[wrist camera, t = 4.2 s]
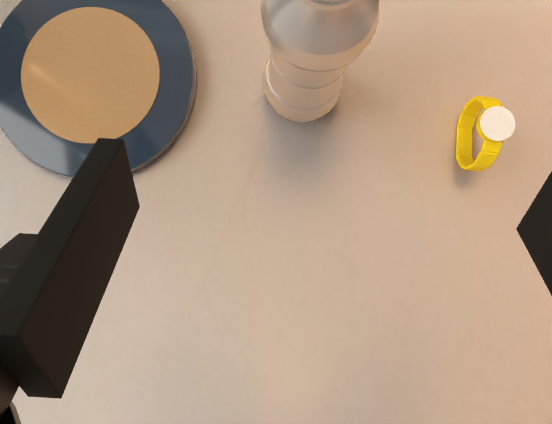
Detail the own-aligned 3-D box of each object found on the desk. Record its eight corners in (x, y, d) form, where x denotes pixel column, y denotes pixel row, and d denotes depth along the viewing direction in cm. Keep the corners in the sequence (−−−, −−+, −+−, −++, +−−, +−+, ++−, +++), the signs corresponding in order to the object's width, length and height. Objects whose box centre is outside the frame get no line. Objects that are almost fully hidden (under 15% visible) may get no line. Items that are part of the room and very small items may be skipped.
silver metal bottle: (279, 45, 38) (287, -153, 18) (348, 74, 38) (433, -93, 18) (252, 110, 38) (229, -17, 18) (321, 139, 38) (376, 44, 18)
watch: (476, 175, 38) (514, 166, 32) (445, 173, 38) (477, 163, 32) (480, 109, 38) (518, 87, 32) (449, 107, 38) (482, 85, 32)
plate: (-46, 71, 38) (-57, 65, 37) (106, -59, 38) (100, -69, 37) (86, 221, 38) (79, 221, 36) (238, 88, 38) (236, 83, 37)
